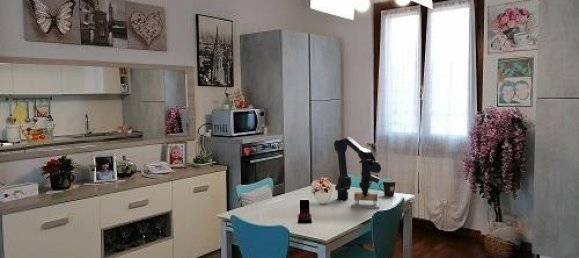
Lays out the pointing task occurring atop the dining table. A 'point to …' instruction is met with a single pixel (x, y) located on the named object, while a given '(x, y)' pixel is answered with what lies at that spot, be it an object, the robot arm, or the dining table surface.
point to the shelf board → (370, 196)
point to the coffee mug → (388, 187)
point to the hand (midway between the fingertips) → (365, 195)
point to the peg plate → (365, 204)
